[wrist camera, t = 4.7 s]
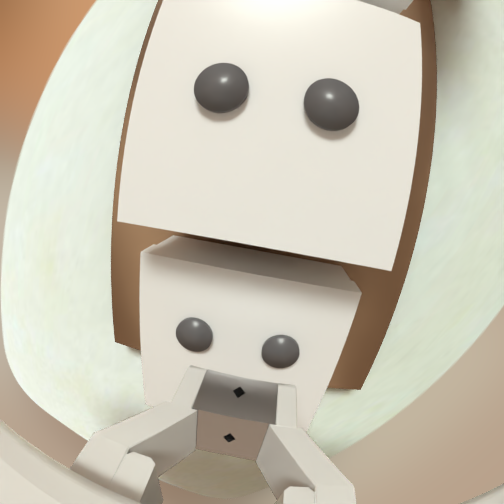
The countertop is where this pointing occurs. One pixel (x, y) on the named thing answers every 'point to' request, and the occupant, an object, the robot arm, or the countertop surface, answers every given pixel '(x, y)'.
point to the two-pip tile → (277, 126)
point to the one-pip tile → (390, 4)
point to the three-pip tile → (241, 318)
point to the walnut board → (366, 278)
